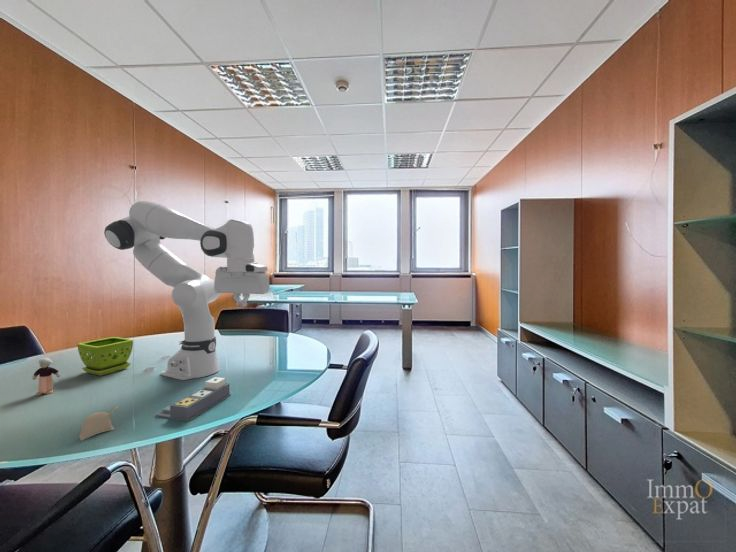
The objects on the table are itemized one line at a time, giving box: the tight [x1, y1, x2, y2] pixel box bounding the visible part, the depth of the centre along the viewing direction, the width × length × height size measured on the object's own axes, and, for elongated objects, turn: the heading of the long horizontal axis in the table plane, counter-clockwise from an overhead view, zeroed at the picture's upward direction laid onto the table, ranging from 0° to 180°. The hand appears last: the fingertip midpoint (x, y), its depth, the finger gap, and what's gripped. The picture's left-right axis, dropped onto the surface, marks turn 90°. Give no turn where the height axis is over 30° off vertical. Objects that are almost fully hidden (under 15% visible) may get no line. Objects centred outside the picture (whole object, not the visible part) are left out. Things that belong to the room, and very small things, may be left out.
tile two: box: [190, 389, 213, 398], centre depth 97 cm, size 4×4×4 cm
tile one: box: [204, 376, 227, 390], centre depth 103 cm, size 4×4×4 cm
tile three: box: [175, 397, 199, 407], centre depth 92 cm, size 4×4×4 cm
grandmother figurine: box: [31, 356, 61, 396], centre depth 107 cm, size 8×4×13 cm, turn 117°
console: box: [154, 382, 232, 422], centre depth 98 cm, size 12×18×4 cm, turn 166°
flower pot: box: [77, 336, 134, 376], centre depth 129 cm, size 14×14×13 cm
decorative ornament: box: [78, 405, 119, 442], centre depth 83 cm, size 4×8×5 cm, turn 141°
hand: (241, 306), depth 106 cm, fingers closed
